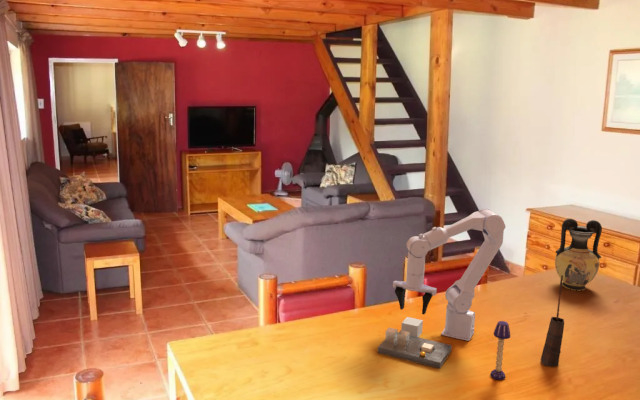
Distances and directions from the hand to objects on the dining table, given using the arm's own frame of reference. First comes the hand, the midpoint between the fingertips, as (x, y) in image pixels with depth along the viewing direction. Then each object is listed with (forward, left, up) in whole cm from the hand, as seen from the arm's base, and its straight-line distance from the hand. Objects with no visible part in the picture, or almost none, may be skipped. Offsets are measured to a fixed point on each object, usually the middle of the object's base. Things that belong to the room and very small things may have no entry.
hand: (412, 311), depth 186 cm
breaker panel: (-5, +12, -8) cm, 15 cm away
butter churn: (-44, -1, -8) cm, 45 cm away
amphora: (-46, -79, -8) cm, 92 cm away
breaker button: (-9, +12, -8) cm, 17 cm away
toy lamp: (-31, +14, -8) cm, 35 cm away
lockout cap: (0, 0, -8) cm, 8 cm away
